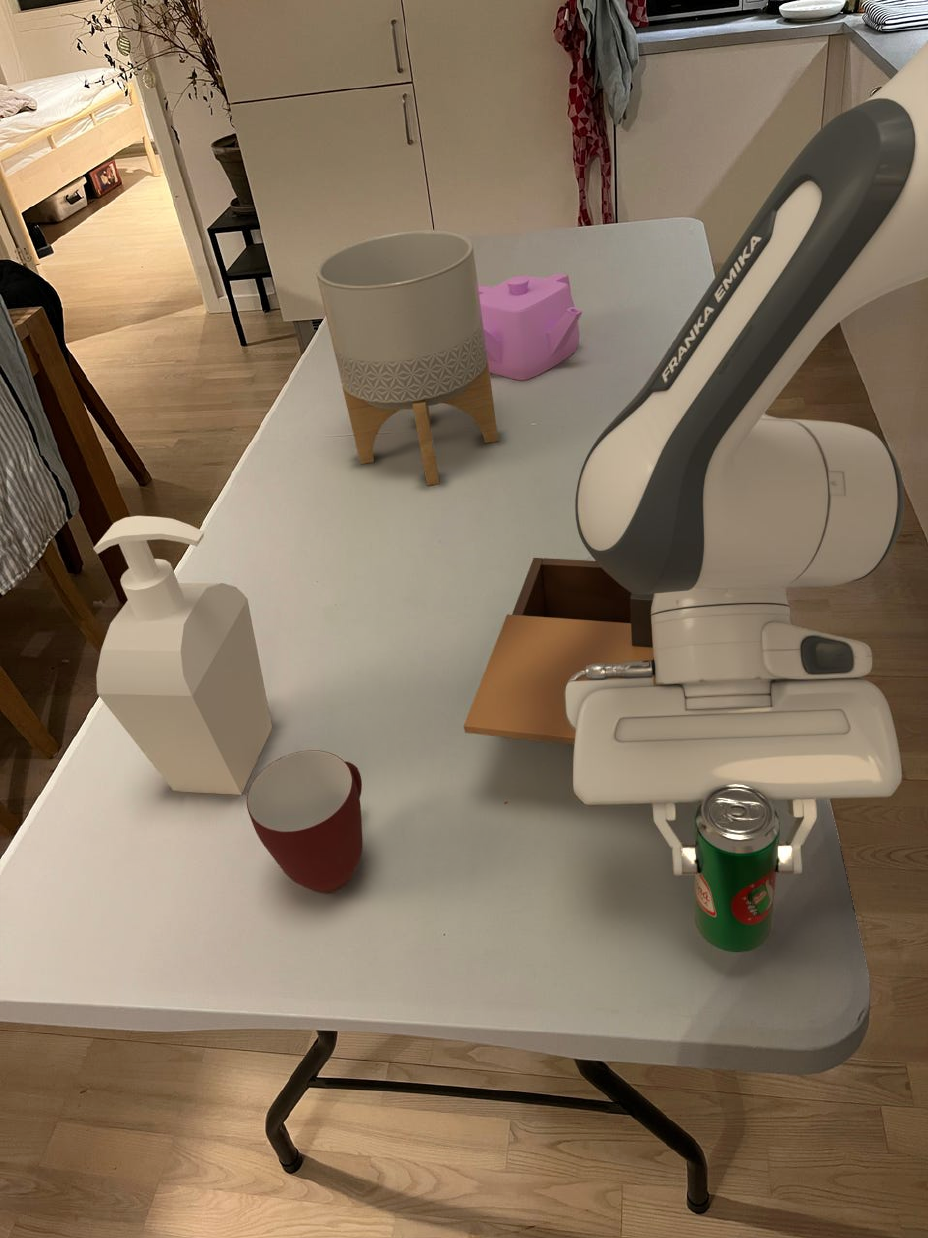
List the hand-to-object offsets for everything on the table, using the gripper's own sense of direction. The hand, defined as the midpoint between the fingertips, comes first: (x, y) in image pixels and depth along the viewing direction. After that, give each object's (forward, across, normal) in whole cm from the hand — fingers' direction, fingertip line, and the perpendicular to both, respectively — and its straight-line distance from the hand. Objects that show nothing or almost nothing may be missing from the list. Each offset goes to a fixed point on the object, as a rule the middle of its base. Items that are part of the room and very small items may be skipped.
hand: (737, 873), depth 62 cm
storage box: (-14, -8, +27) cm, 32 cm away
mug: (0, -30, +12) cm, 33 cm away
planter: (-47, -31, +60) cm, 82 cm away
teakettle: (-65, -18, +79) cm, 104 cm away
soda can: (+4, 0, +5) cm, 7 cm away
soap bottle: (-8, -42, +20) cm, 48 cm away
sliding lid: (-13, -10, +14) cm, 22 cm away
